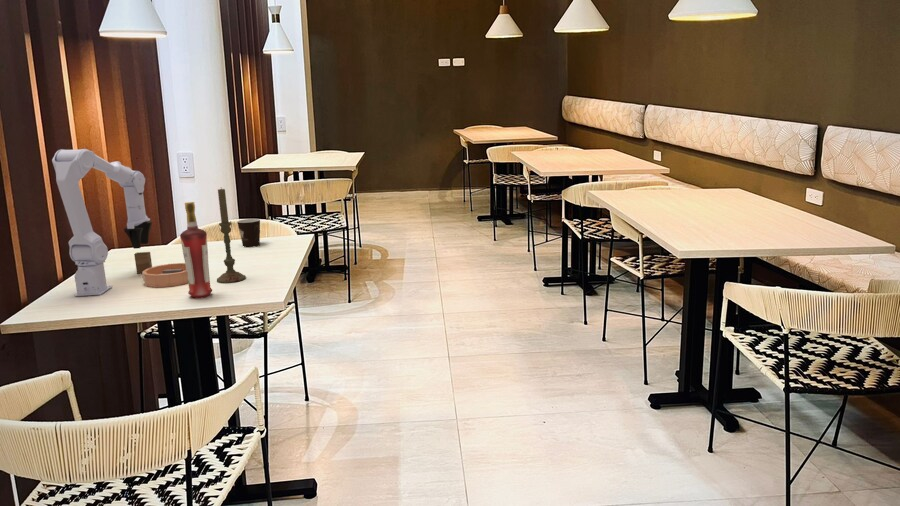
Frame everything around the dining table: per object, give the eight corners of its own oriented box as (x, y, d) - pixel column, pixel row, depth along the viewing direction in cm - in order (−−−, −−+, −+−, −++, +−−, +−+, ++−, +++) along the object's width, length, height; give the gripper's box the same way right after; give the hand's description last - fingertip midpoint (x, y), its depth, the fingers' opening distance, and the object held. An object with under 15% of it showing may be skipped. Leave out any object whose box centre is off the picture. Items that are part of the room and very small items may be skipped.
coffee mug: (239, 244, 290) (237, 219, 288) (261, 242, 292) (259, 217, 290) (240, 250, 279) (237, 224, 277) (263, 247, 282) (261, 222, 279)
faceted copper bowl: (189, 285, 229) (187, 273, 228) (137, 288, 228) (135, 276, 227) (202, 273, 244) (201, 261, 243) (154, 276, 243) (152, 264, 243)
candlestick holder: (216, 284, 229) (205, 189, 222) (217, 277, 237) (206, 186, 231) (246, 281, 231) (236, 187, 225) (246, 274, 240) (236, 184, 233)
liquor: (186, 294, 218) (175, 202, 212) (212, 291, 221) (201, 200, 215) (188, 300, 212) (176, 205, 206) (215, 296, 215) (203, 203, 209)
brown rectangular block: (150, 273, 248) (147, 253, 246) (137, 274, 248) (134, 254, 246) (152, 271, 250) (150, 251, 249) (139, 272, 250) (136, 252, 249)
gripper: (140, 209, 237) (145, 249, 240) (154, 202, 251) (159, 241, 254) (118, 210, 237) (124, 250, 240) (133, 203, 251) (139, 242, 254)
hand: (141, 245), depth 247 cm, fingers open, 7 cm apart
